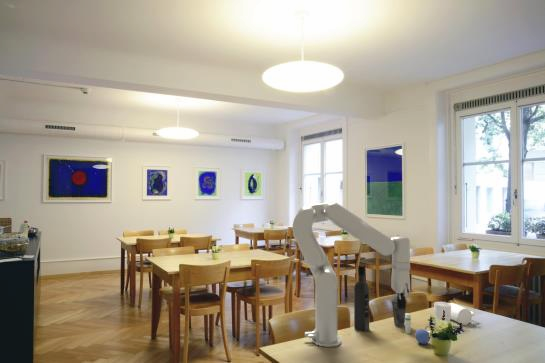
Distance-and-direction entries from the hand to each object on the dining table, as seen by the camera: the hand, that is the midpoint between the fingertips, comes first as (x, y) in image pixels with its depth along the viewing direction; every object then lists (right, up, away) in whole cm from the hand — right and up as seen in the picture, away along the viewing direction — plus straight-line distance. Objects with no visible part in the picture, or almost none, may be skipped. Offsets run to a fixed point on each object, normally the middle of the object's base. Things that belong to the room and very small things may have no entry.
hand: (401, 308), depth 164 cm
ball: (+9, -12, -1) cm, 15 cm away
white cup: (+29, -16, +23) cm, 40 cm away
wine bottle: (-13, -16, +17) cm, 26 cm away
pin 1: (+7, -16, +12) cm, 21 cm away
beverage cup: (+7, -16, +22) cm, 28 cm away
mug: (+40, -16, +28) cm, 52 cm away
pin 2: (+13, -14, +7) cm, 21 cm away
